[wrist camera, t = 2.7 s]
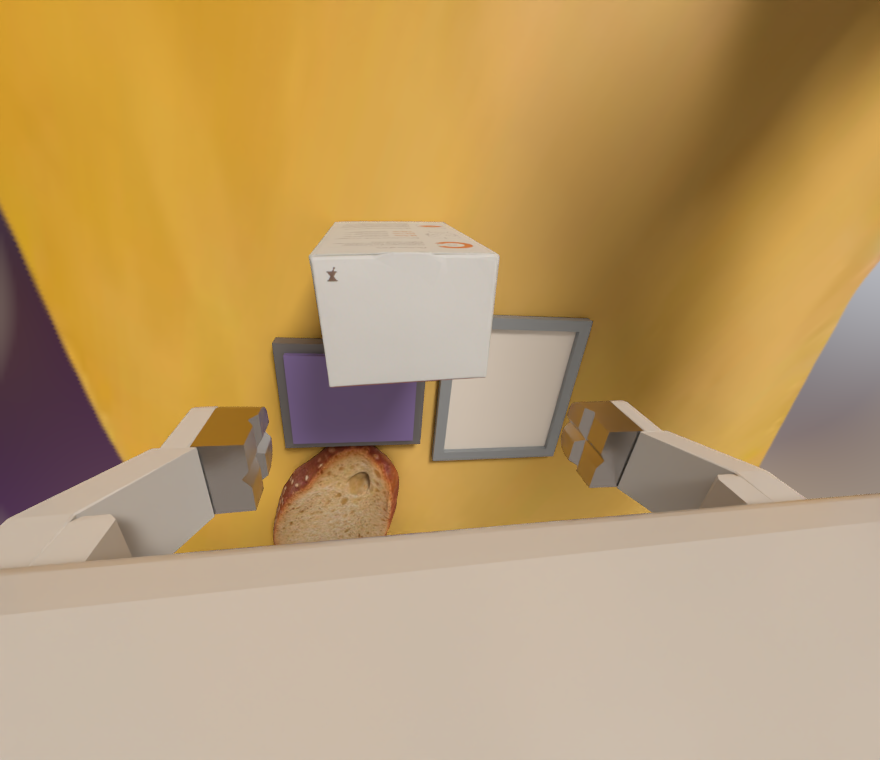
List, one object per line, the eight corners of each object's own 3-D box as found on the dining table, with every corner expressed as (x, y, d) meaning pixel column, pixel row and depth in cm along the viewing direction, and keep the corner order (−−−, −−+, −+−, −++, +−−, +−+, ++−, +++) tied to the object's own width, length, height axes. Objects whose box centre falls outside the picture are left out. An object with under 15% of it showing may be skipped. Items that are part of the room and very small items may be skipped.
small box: (342, 308, 29) (325, 390, 17) (333, 220, 26) (304, 250, 14) (444, 305, 30) (489, 380, 19) (446, 221, 27) (501, 249, 16)
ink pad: (426, 340, 31) (428, 348, 30) (418, 436, 36) (420, 447, 34) (275, 337, 29) (270, 345, 27) (288, 439, 33) (284, 451, 32)
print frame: (588, 318, 33) (593, 321, 32) (549, 451, 40) (553, 456, 39) (446, 313, 30) (447, 316, 30) (431, 455, 37) (432, 460, 36)
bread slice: (330, 591, 45) (326, 622, 42) (213, 512, 36) (198, 544, 33) (453, 523, 43) (460, 550, 40) (361, 422, 34) (360, 447, 31)
